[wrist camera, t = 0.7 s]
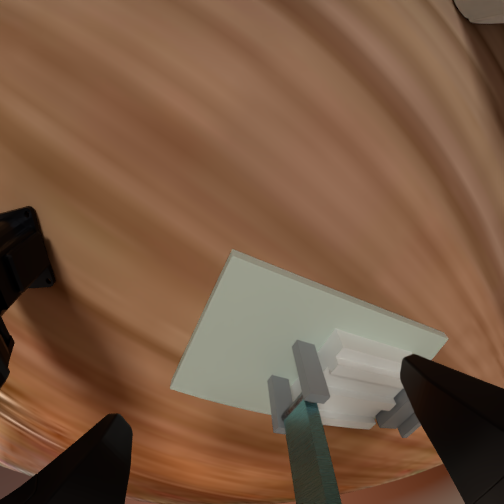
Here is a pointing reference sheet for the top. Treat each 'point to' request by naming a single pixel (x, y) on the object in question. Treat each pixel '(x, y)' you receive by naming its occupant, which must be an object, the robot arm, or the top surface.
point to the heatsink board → (301, 350)
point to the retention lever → (309, 454)
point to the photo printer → (482, 10)
